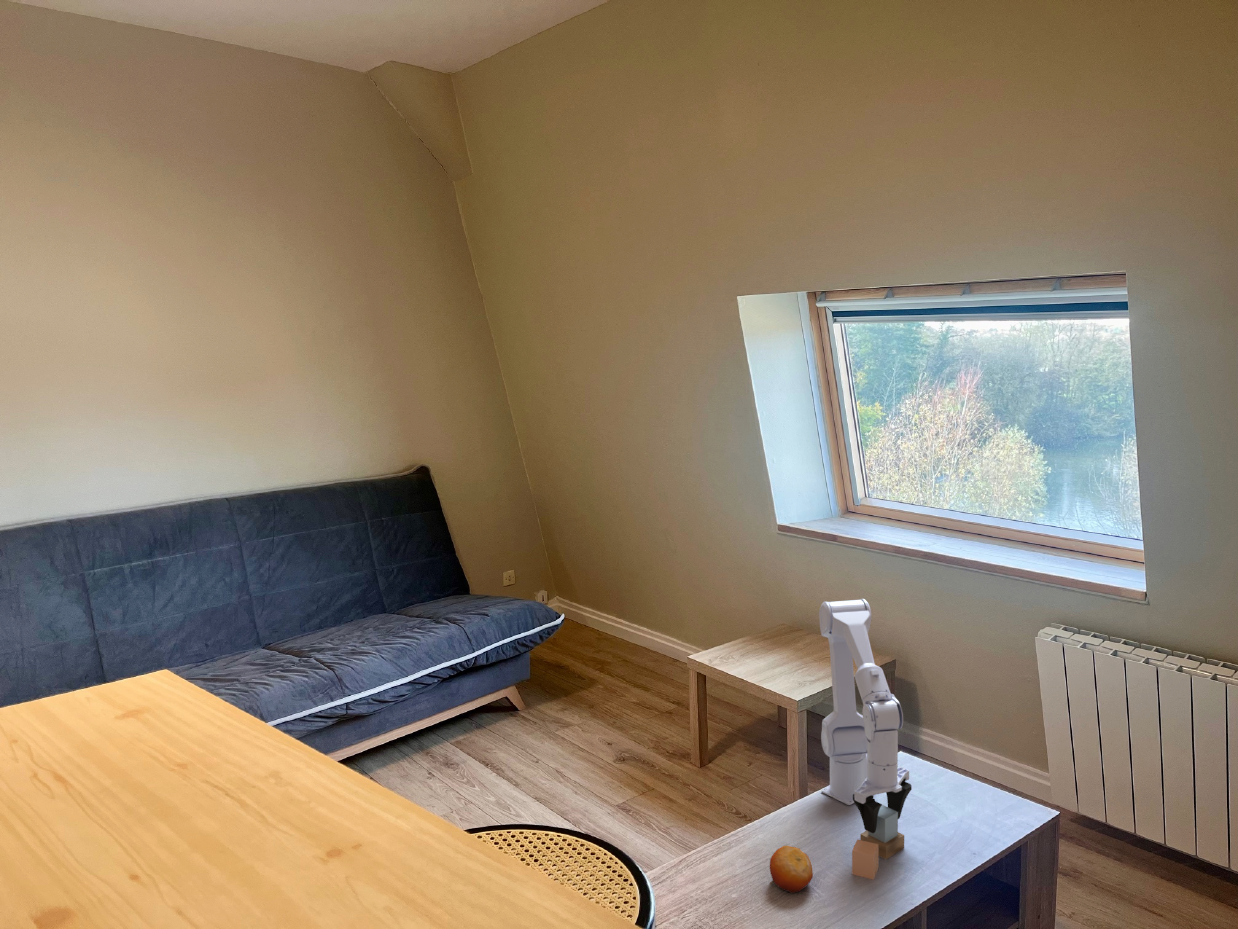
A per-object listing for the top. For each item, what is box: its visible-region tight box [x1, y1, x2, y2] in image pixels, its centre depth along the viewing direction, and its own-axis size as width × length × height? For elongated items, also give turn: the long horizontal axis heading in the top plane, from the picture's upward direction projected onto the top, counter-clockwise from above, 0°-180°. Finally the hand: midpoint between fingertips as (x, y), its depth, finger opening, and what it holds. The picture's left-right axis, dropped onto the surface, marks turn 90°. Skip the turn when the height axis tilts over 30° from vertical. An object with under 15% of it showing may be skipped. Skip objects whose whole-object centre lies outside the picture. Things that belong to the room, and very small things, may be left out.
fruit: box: [769, 845, 814, 894], centre depth 171 cm, size 8×8×8 cm
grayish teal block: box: [868, 804, 899, 843], centre depth 181 cm, size 4×4×5 cm
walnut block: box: [859, 830, 905, 860], centre depth 182 cm, size 6×6×3 cm
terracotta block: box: [851, 839, 879, 881], centre depth 174 cm, size 4×4×5 cm
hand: (882, 824), depth 181 cm, fingers open, 7 cm apart
